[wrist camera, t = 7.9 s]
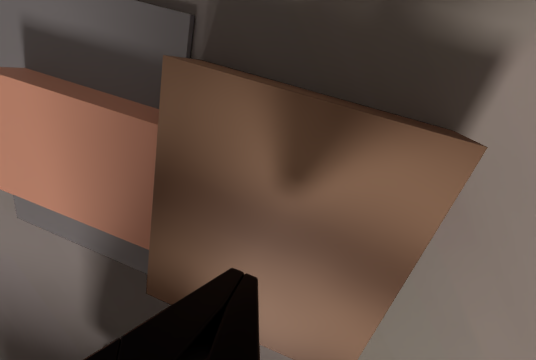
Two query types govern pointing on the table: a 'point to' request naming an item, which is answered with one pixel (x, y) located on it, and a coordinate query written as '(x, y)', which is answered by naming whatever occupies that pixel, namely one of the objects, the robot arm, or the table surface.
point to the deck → (295, 202)
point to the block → (78, 152)
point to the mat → (93, 75)
